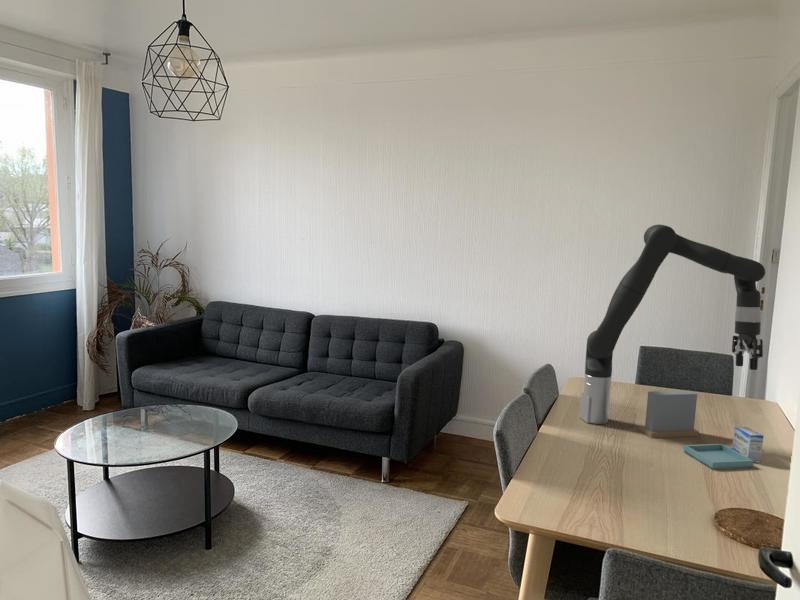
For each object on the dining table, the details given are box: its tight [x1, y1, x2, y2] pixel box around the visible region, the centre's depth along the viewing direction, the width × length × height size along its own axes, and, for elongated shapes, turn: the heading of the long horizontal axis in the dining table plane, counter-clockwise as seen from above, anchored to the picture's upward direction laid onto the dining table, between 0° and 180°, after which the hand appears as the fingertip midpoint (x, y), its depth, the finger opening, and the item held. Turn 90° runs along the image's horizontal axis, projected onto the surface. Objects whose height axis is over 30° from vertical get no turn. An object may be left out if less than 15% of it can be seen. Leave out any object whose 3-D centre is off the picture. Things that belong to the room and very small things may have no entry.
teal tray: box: [682, 443, 754, 471], centre depth 183 cm, size 14×14×2 cm
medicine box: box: [731, 426, 764, 463], centre depth 186 cm, size 8×4×9 cm, turn 5°
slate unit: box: [639, 390, 700, 438], centre depth 205 cm, size 18×7×14 cm, turn 100°
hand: (746, 367), depth 201 cm, fingers open, 8 cm apart
